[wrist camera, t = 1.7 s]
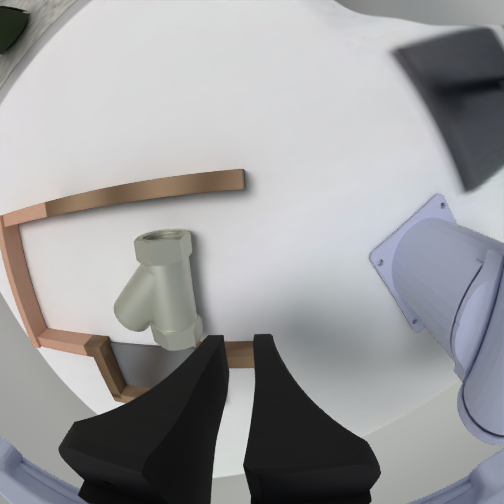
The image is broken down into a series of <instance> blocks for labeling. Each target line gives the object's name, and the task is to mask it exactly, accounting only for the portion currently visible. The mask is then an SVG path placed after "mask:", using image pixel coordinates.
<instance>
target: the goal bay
mask: <svg viewBox="0 0 504 504" xmlns="http://www.w3.org/2000/svg"><path fill="white" fill-rule="evenodd" d="M44 217H47V215H46V208H45V202H44V203H41V204H37V205H34V206H30V207H27V208H23V209H20V210H17V211H14V212H11V213H7V214H4V215H1V216H0V248H1V253H2V257H3V261H4V265H5V269H6V273H7V276H8V280H9V283H10V287H11V290H12V293H13V296H14V299H15V302H16V305H17V308H18V310H19V313H20V316H21V318H22V321H23V323H24V326H25V328H26V331H27V333H28V335H29V338H30V340H31V342H32V344H33V346H34V347H37V348H40V347H41V346H43V347H47V348H51V349H55V350H60V351H65V352H69V353H74V354H79V355H85V356H87V353H86V351H85V349H84V346H83V345H84V344H85V343H86V342H87V341H88V340H89V339H90V338H91V337H92V336H93V335H90V334H82V333H75V332H68V331H61V330H55V329H49V328H47V327H46V324H45V321H44V319H43V316H42V313H41V311H40V308H39V305H38V302H37V299H36V296H35V293H34V290H33V286H32V283H31V280H30V276H29V273H28V269H27V265H26V261H25V257H24V253H23V248H22V243H21V238H20V233H19V228H18V224H19V223H23V222H27V221H31V220H35V219H40V218H44Z"/></svg>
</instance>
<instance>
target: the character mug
mask: <svg viewBox="0 0 504 504" xmlns="http://www.w3.org/2000/svg"><path fill="white" fill-rule="evenodd" d="M24 11H25V10H22V9H18V8H13V7H7V6H0V54H2V53H3V52H4V51H6V50H7V48H8V47H9V46H10V45H11V44H12V43H13V42H14V40H15V39H16V38H17V37H18V35H19V34H20V33H21V32H22V30H23V28H24V26H25V24H26V22H27V19H28V14H26V13H23V12H24ZM26 12H27V11H26Z"/></svg>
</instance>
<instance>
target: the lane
mask: <svg viewBox="0 0 504 504" xmlns="http://www.w3.org/2000/svg"><path fill="white" fill-rule="evenodd" d="M244 188H245V175H244V169H235V170H224V171H214V172H205V173H196V174H188V175H181V176H173V177H166V178H159V179H153V180H147V181H141V182H135V183H129V184H124V185H118V186H113V187H108V188H103V189H98V190H94V191H89V192H85V193H80V194H76V195H72V196H68V197H64V198H60V199H56V200H52V201H48V202H45V208H46V215H47V217H49V216H53V215H58V214H63V213H68V212H73V211H78V210H83V209H89V208H94V207H100V206H106V205H112V204H118V203H124V202H131V201H138V200H145V199H152V198H159V197H167V196H176V195H184V194H193V193H203V192H213V191H224V190H236V189H244ZM201 343H202V342H198V343H197V345H196V347H190V348H187V349H184V350H177V351H169V350H167V349H165V348H163V347H161V346H154V345H140V344H128V343H118V342H111V341H110V339H109V337H108V336H99V335H93V336H92V337H91V338H90V339H89V340H88V341H87V342H86V343H85V344H84V345H83V346H84V349H85V351H86V353H87V356H90V357H94V359H95V361H96V363H97V366H98V368H99V370H100V372H101V374H102V376H103V378H104V380H105V382H106V385H107V387H108V388H109V390H110V392H111V394H112V396H113V398H114V400H115V401H118V402H123V403H128V402H130V401H132V400H133V399H135V398H137V397H139V396H140V395H142V394H144V393H145V392H147V391H149V390H150V389H151V388H153V387H154V386H156V385H157V384H159V383H160V382H161V381H162V380H164V379H165V378H166V377H167V376H169V375H170V374H171V373H172V372H173V371H174V370H175V369H176V368H177V367H179V366H180V365H181V364H182V363H183V362H184V361H185V360H186V359H187V358H188V357H189V356H190V355H191V354H192V352H193V351H194V350H195V349H196V348H197V347H198V346H199V345H200V344H201ZM224 343H225V349H226V355H227V361H228V368H255V366H254V353H253V341H245V342H224Z"/></svg>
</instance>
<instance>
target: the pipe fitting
mask: <svg viewBox="0 0 504 504" xmlns="http://www.w3.org/2000/svg"><path fill="white" fill-rule="evenodd" d="M134 246H135V253H136V259H137V261H139V262H140V263H141V265H140V266H139V267H138V269H137V270H136V272H135V273H134V275H133V276H132V278H131V279H130V280H129V282H128V283H127V285H126V286H125V288H124V289H123V291H122V292H121V294H120V295H119V297H118V299H117V300H116V302H115V304H114V313H115V316H116V318H117V319H118V321H119V322H120V323H121V324H122V325H123V326H124V327H126V328H127V329H129V330H132V331H136V332H140V331H144V330H146V329H147V328H148V327H149V325H150V324H151V323H152V322H153V323H152V325H151V329H152V333H153V337H154V341H155V342H157V343H158V344H159V345H160V346H161V347H163V348H165V349H167V350H169V351H177V350H184V349H187V348H190V347H193V346H195V345H197V343H198V342H199V340H200V338H201V336H202V333H203V326H202V319H201V316H200V315H198V314H197V312H196V305H195V298H194V291H193V284H192V277H191V269H190V261H189V256H190V255H191V253H192V242H191V233H190V232H188V231H186V230H183V229H165V230H158V231H153V232H149V233H145V234H143V235H140V236H139V237H137V238H136V239H135V240H134Z"/></svg>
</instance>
